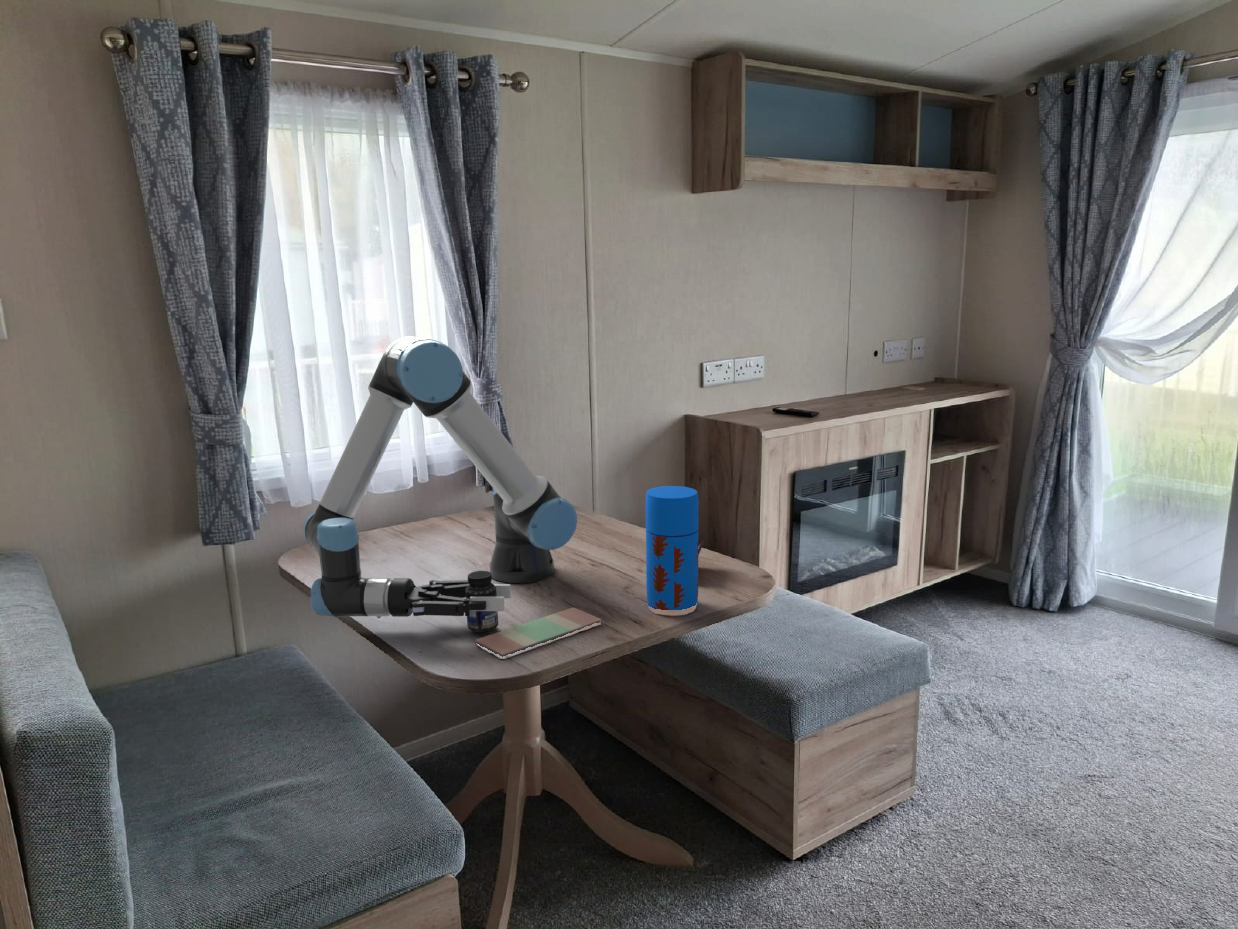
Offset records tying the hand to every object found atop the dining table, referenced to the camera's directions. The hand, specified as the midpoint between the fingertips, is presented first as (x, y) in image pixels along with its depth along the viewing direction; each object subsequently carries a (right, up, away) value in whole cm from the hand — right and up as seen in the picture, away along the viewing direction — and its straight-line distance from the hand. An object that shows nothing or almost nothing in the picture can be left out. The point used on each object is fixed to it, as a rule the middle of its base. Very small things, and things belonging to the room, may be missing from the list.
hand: (506, 597), depth 177 cm
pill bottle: (-5, -6, +2) cm, 8 cm away
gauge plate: (+7, -7, -1) cm, 10 cm away
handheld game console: (+36, 0, +33) cm, 49 cm away
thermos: (+33, -4, +13) cm, 36 cm away
